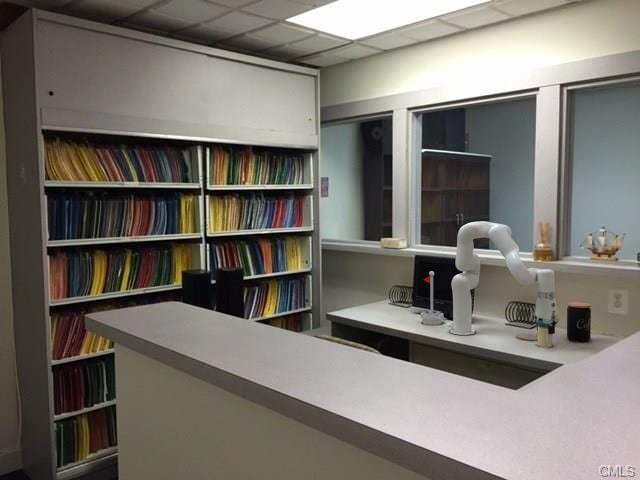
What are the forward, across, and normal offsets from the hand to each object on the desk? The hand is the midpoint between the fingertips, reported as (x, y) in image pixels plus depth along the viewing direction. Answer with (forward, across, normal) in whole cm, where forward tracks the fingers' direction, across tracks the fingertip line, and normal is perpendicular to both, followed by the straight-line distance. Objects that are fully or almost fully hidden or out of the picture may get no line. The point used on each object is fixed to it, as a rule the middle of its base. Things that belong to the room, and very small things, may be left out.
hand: (545, 331), depth 257 cm
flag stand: (+6, +65, +23) cm, 69 cm away
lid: (-4, 0, 0) cm, 4 cm away
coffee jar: (+7, +2, -22) cm, 23 cm away
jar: (+7, 0, 0) cm, 7 cm away
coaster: (+7, +15, -3) cm, 16 cm away
